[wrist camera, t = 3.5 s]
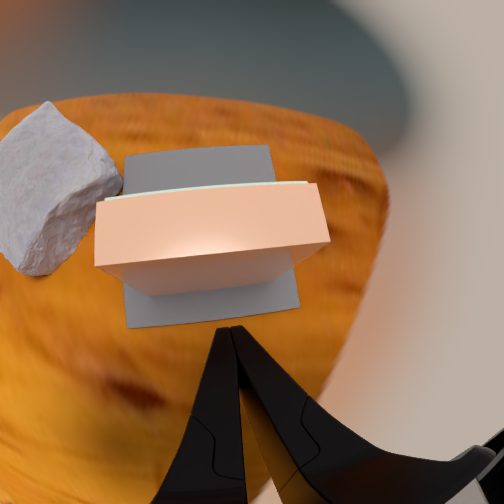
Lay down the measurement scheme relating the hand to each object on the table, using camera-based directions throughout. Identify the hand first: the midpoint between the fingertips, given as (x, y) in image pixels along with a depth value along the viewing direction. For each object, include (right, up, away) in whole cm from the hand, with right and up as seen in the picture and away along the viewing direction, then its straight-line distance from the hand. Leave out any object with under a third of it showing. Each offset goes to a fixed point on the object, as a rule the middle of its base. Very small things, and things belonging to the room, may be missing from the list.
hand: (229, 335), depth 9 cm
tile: (-2, +2, +7) cm, 7 cm away
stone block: (-15, +7, +7) cm, 18 cm away
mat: (-2, +4, +8) cm, 9 cm away
